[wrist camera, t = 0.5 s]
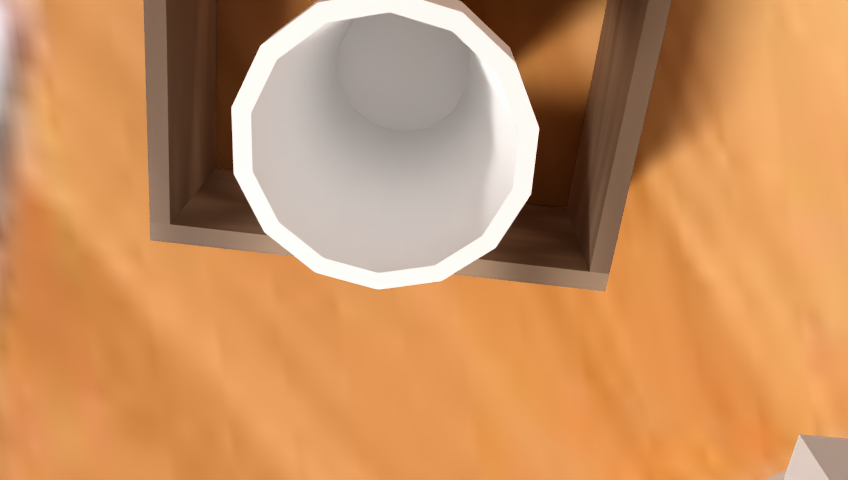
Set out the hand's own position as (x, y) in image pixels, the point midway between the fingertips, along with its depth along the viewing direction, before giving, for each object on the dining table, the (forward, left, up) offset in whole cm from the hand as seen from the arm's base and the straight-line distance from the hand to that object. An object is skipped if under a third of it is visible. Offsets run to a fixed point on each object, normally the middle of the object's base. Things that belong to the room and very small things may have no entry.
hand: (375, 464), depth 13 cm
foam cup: (-1, +1, -27) cm, 27 cm away
